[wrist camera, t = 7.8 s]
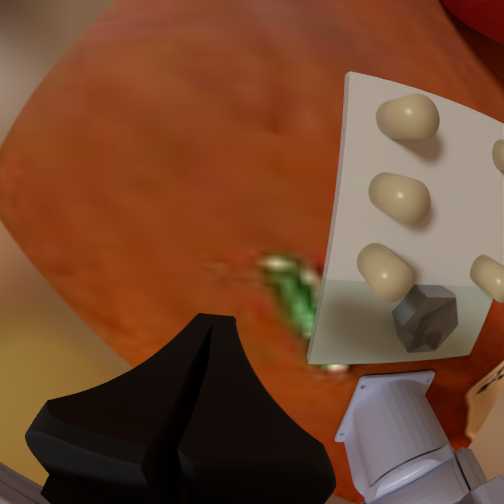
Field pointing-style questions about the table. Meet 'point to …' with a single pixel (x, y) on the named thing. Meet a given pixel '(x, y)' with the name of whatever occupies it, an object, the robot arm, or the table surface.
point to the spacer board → (436, 169)
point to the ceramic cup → (480, 16)
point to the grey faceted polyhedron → (425, 318)
